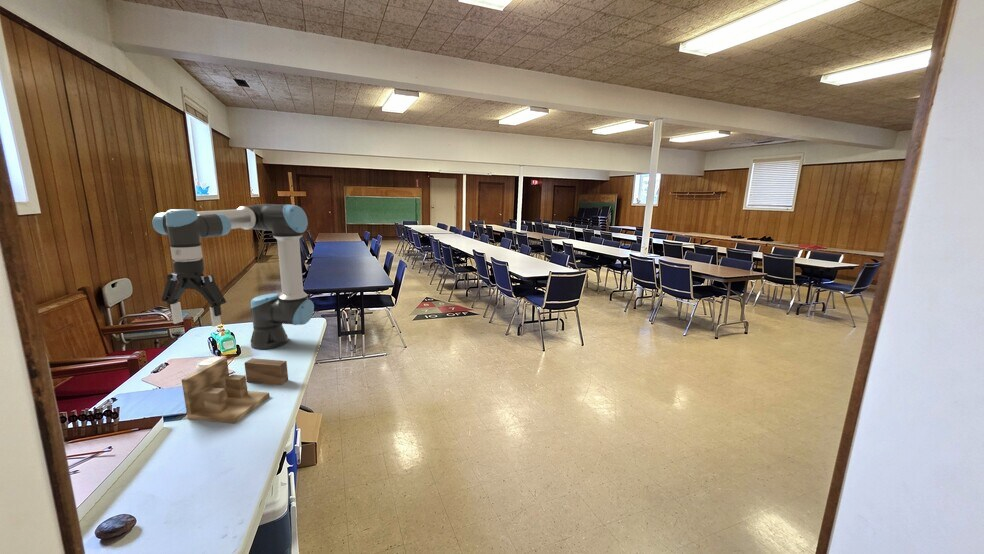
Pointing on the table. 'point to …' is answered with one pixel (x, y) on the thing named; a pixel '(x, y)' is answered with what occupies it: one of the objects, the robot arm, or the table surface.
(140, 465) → the table surface
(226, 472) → the table surface
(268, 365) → the rail
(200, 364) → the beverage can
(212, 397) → the wooden step bracket
